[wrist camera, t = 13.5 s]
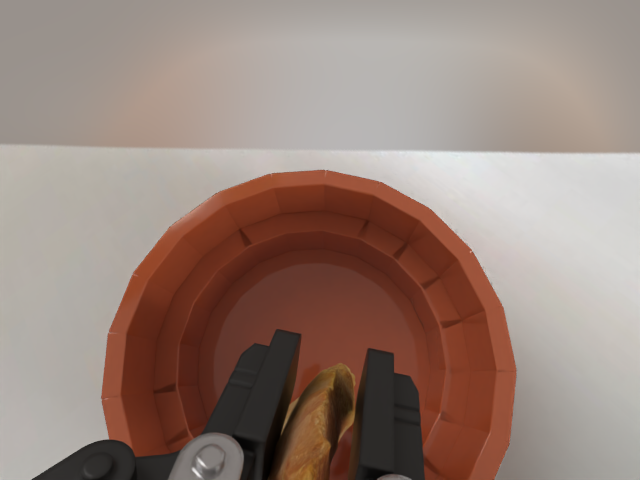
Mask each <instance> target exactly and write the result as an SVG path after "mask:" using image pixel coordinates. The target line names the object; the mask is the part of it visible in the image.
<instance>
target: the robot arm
mask: <svg viewBox="0 0 640 480" xmlns="http://www.w3.org/2000/svg"><path fill="white" fill-rule="evenodd" d="M301 337H302V334H300V333H295V332H290V331H286V330H281V329H276V331H275V333H274V335H273V338H272V340H271V342H270V345H269V346H267V345H262V344H257V343H254V344H253V345H252V346H250V347H249V348H248V349H247V350H245V351H244V352H243V353H242V354H241V356H240V358H239V360H238V362H237V364H236V366H235V368H234V371H233V372H232V374H231V376H230V378H229V380H228V383H227V384H226V386H225V388H224V390H223V392H222V394H221V396H220V398H219V400H218V402H217V404H216V406H215V408H214V410H213V412H212V414H211V416H210V418H209V420H208V422H207V424H206V426H205V428H204V430H203V432H202V433H201V434H200V436H198V437H196V438H194V439H192V440H191V441H190V442H188V443H187V444H186V445H185V446H184V447H183V449H181V450H179V451H176V452H173V453H170V454H163V455H152V456H140V457H135V454H134V452H133V450H132V449H131V447H130V446H129V445H127V444H126V443H124V442H122V441H118V440H101V441H97V442H94V443H91V444H89V445H87V446H85V447H83V448H81V449H80V450H78V451H76V452H75V453H73V454H72V455H70V456H68V457H67V458H65V459H64V460H62V461H60V462H59V463H57V464H56V465H54V466H53V467H51V468H49V469H48V470H46V471H45V472H43V473H41V474H40V475H38V476H37V477H35V478H33V479H32V480H268V477H269V473H270V469H271V464H272V459H273V455H274V450H275V447H276V445H277V443H278V440H279V438H280V436H281V432H282V429H283V425H284V422H285V419H286V415H287V412H288V408H289V405H290V401H291V398H292V394H293V390H294V386H295V381H296V376H297V368H298V361H299V353H300V345H301ZM348 480H425V472H424V458H423V444H422V430H421V416H420V402H419V392H418V390H417V388H416V386H415V384H414V382H413V380H412V379H411V377H410V376H408V375H403V374H399V373H394V353H391V352H387V351H382V350H377V349H372V348H368V349H367V353H366V357H365V362H364V366H363V370H362V375H361V379H360V384H359V388H358V394H357V399H356V406H355V415H354V424H353V433H352V443H351V452H350V461H349V470H348Z"/></svg>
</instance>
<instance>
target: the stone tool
mask: <svg viewBox="0 0 640 480" xmlns="http://www.w3.org/2000/svg"><path fill="white" fill-rule="evenodd" d="M354 386H355V376H354V374H352V373H351V371H350V369H349V368H348V367H347V366H346V365H344V364H342V363H339V364H337V365H335V366H332V367H330V368H328V369H325V370H323V371H321V372H320V373H319V374H318V375H317V376H316V377H315V378H314V379H313V380H312V381H311V382H310V383H309V384H308V385H307V387H306V388H305V389H304V391H303V392H302V394H301V395H300V397H299V398H298V399H296V400H295V401H294V402H292V403H291V404H290V405H289V408H288V412H287V415H286V419H285V422H284V425H283V429H282V432H281V436H280V438H279V440H278V443H277V445H276V447H275V450H274V455H273V459H272V464H271V469H270V473H269V477H268V480H329V479H330V465H331V462H332V459H333V457H334V455H335V453H336V451H337V449H338V442H339V440H340V439H341V437H342V435H343V434H344V432H345V431H346V430H347V429H348V428H349V427H350V426H351V425H352V423H353V422H354V415H355V392H354Z"/></svg>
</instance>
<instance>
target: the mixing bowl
mask: <svg viewBox="0 0 640 480" xmlns="http://www.w3.org/2000/svg"><path fill="white" fill-rule="evenodd" d="M276 329H281V330H286V331H290V332H295V333H300V334H302V337H301V345H300V353H299V361H298V368H297V376H296V381H295V386H294V390H293V394H292V398H291V401H290V404H291V403H292V402H294V401H295V400H296V399H298V398H299V397H300V395H301V394H302V392H303V391H304V389H305V388H306V387H307V385H308V384H309V383H310V382H311V381H312V380H313V379H314V378H315V377H316V376H317V375H318V374H319V373H320V372H321V371H323V370H325V369H328V368H330V367H332V366H335V365H337V364H339V363H342V364H344V365H346V366H347V367H348V368H349V369H350V371H351V373H352V374H354V376H355V386H354V392H355V406H356V399H357V394H358V388H359V384H360V379H361V375H362V370H363V366H364V362H365V357H366V353H367V349H368V348H372V349H377V350H382V351H387V352H391V353H394V373H399V374H403V375H408V376H410V377H411V379H412V380H413V382H414V384H415V386H416V388H417V390H418V392H419V402H420V416H421V430H422V444H423V458H424V472H425V480H494V478H495V476H496V473H497V471H498V469H499V467H500V464H501V462H502V460H503V458H504V455H505V453H506V451H507V449H508V446H509V444H510V443H509V442H510V435H511V425H512V415H513V404H514V394H515V384H516V372H517V370H516V365H515V360H514V356H513V351H512V346H511V341H510V337H509V332H508V327H507V322H506V318H505V313H504V308H503V306H502V304H501V302H500V300H499V299H498V297H497V295H496V293H495V291H494V289H493V288H492V286H491V284H490V282H489V280H488V278H487V277H486V275H485V273H484V271H483V269H482V267H481V266H480V264H479V262H478V260H477V258H476V256H475V255H474V253H473V252H472V250H471V249H470V248H469V247H468V246H467V245H466V244H465V243H464V242H463V241H462V240H461V239H460V238H459V237H458V236H457V235H456V234H455V233H454V232H453V231H452V230H451V229H450V228H449V227H448V226H447V225H446V224H445V223H444V222H443V221H442V220H441V219H440V218H439V217H438V216H437V215H436V214H435V213H434V212H433V211H432V210H431V209H429V208H428V207H426V206H424V205H423V204H421V203H419V202H417V201H415V200H413V199H411V198H410V197H408V196H406V195H404V194H402V193H400V192H399V191H397V190H395V189H393V188H391V187H389V186H387V185H386V184H384V183H382V182H378V181H374V180H370V179H365V178H361V177H356V176H351V175H347V174H342V173H338V172H333V171H328V170H326V171H325V170H314V171H299V172H284V173H272V174H267V175H264V176H262V177H259V178H256V179H253V180H250V181H248V182H245V183H242V184H239V185H237V186H234V187H231V188H228V189H225V190H223V191H220V192H218V193H216V194H215V195H213V196H212V197H211V198H209V199H208V200H206V201H205V202H204V203H202V204H201V205H199V206H198V207H197V208H195V209H194V210H192V211H191V212H190V213H188V214H187V215H185V216H184V217H183V218H181V219H180V220H178V221H177V222H176V223H174V224H173V225H172V226H171V227H169V228H168V230H167V231H166V232H165V233H164V235H163V236H162V237H161V238H160V240H159V241H158V242H157V244H156V245H155V246H154V247H153V249H152V250H151V251H150V252H149V254H148V255H147V256H146V257H145V259H144V260H143V261H142V262H141V264H140V265H139V266H138V267H137V269H136V270H135V271H134V272H133V275H132V277H131V279H130V282H129V284H128V287H127V289H126V291H125V294H124V296H123V299H122V301H121V303H120V306H119V308H118V311H117V313H116V316H115V318H114V320H113V323H112V325H111V328H110V330H109V332H110V333H108V339H107V348H106V358H105V367H104V377H103V386H102V396H101V399H102V405H103V410H104V415H105V420H106V425H107V430H108V435H109V440H118V441H122V442H124V443H126V444H127V445H129V446H130V447H131V449H132V450H133V452H134V454H135V457H140V456H152V455H163V454H170V453H173V452H176V451H179V450H181V449H183V447H184V446H185V445H186V444H187V443H188V442H190V441H191V440H192V439H194V438H196V437H198V436H200V434H201V433H202V432H203V430H204V428H205V426H206V424H207V422H208V420H209V418H210V416H211V414H212V412H213V410H214V408H215V406H216V404H217V402H218V400H219V398H220V396H221V394H222V392H223V390H224V388H225V386H226V384H227V383H228V380H229V378H230V376H231V374H232V372H233V371H234V368H235V366H236V364H237V362H238V360H239V358H240V356H241V354H242V353H243V352H244V351H245V350H247V349H248V348H249V347H250V346H252V345H253V344H254V343H257V344H262V345H267V346H269V345H270V342H271V340H272V338H273V335H274V333H275V331H276ZM353 424H354V422H353V423H352V425H351V426H350V427H349V428H348V429H347V430H346V431H345V432H344V434H343V435H342V437H341V439H340V440H339V442H338V449H337V451H336V453H335V455H334V457H333V459H332V462H331V465H330V479H329V480H348V470H349V461H350V452H351V443H352V433H353Z"/></svg>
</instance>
